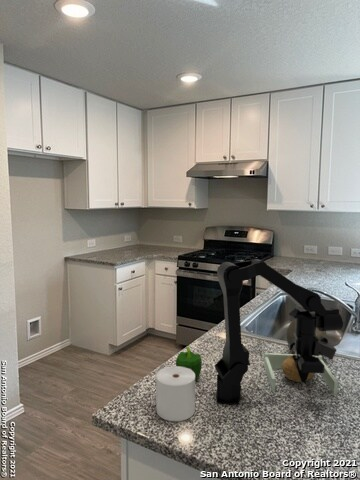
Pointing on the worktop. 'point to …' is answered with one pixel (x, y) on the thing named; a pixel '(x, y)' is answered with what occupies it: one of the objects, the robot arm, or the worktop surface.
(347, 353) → the worktop surface
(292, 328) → the cantaloupe
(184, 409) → the toilet tissue
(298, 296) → the robot arm
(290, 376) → the potato
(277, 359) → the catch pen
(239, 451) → the worktop surface
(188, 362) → the bell pepper
